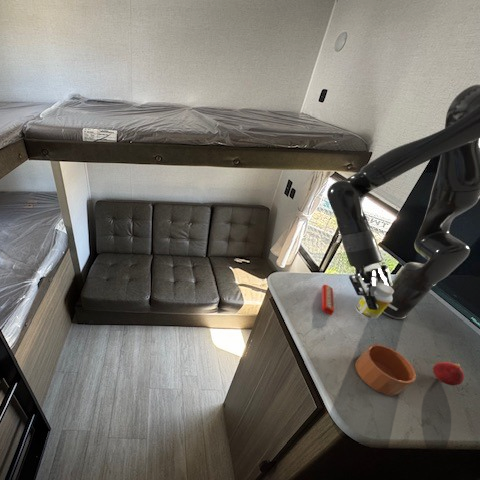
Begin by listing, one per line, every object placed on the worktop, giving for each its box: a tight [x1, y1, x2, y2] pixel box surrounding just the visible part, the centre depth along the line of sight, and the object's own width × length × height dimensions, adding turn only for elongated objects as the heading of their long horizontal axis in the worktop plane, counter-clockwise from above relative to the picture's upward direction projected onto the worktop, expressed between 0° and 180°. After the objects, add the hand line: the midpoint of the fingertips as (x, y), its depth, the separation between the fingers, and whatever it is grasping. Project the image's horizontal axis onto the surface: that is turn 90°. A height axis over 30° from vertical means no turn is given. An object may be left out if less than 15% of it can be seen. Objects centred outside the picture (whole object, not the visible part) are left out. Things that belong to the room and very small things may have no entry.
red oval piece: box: [432, 361, 465, 386], centre depth 72 cm, size 6×6×8 cm
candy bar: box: [321, 284, 335, 316], centre depth 97 cm, size 16×4×3 cm, turn 152°
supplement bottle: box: [355, 283, 394, 320], centre depth 71 cm, size 6×6×10 cm
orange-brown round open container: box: [354, 343, 417, 396], centre depth 72 cm, size 11×11×7 cm
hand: (381, 305), depth 70 cm, fingers closed on supplement bottle, 5 cm apart
